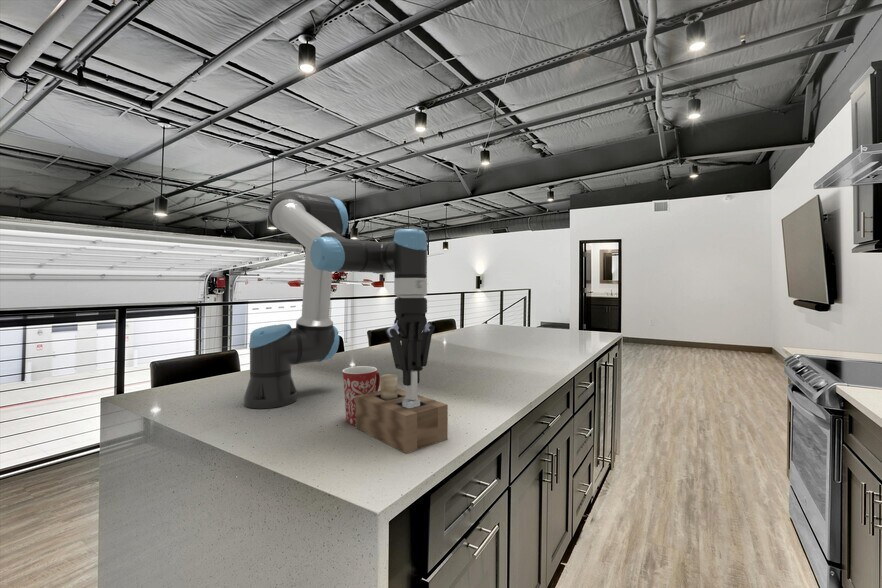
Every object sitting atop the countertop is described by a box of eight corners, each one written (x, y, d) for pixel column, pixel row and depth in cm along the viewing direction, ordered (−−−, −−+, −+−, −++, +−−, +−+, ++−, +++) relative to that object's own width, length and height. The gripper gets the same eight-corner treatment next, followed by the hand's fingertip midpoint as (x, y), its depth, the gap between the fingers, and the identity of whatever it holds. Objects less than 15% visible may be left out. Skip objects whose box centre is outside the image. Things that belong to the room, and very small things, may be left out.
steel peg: (398, 431, 91) (398, 399, 91) (412, 427, 94) (412, 395, 94) (409, 436, 88) (409, 403, 88) (423, 431, 91) (423, 399, 90)
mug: (362, 428, 97) (362, 374, 97) (335, 422, 102) (334, 370, 101) (392, 414, 108) (391, 365, 108) (366, 409, 113) (366, 362, 113)
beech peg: (377, 405, 97) (377, 376, 97) (391, 402, 100) (391, 373, 100) (386, 409, 94) (386, 378, 94) (400, 406, 97) (400, 376, 97)
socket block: (355, 427, 98) (355, 395, 98) (395, 416, 106) (394, 387, 106) (405, 453, 82) (405, 415, 82) (447, 438, 90) (447, 404, 90)
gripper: (397, 297, 83) (397, 407, 83) (442, 296, 92) (443, 396, 92) (377, 297, 89) (378, 400, 89) (422, 296, 97) (422, 390, 98)
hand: (411, 398), depth 90 cm, fingers closed
